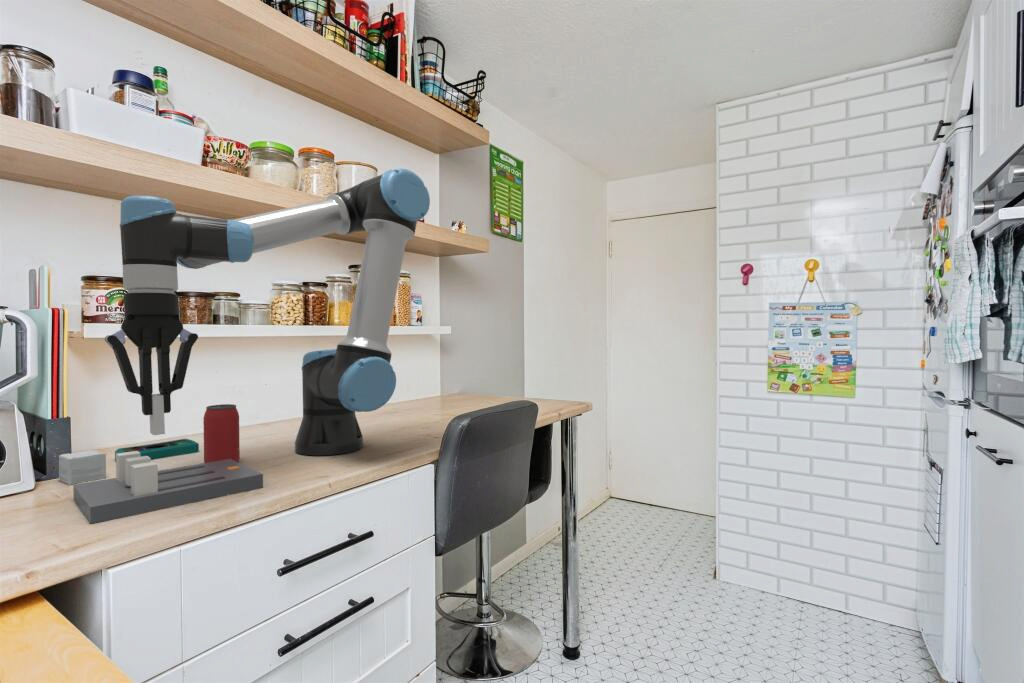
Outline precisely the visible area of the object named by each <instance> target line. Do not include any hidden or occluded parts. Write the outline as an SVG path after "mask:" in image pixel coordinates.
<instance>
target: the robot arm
mask: <svg viewBox="0 0 1024 683" xmlns="http://www.w3.org/2000/svg"><path fill="white" fill-rule="evenodd" d="M430 203H431V199H430V193H429V190H428V188H427V186H426V185H425V184H424V181H423V180H422V179H421V177H419V175H417V174H416V173H415V172H413V171H412V170H409V169H407V168H394V169H389V170H386V171H384V172H383V174H380V175H377V176H375V177H372V178H369V179H367V180H364V181H361V182H360V183H358V184H356V185H354V186H351V187H349V188H347V189H344V190H343V191H339V192H338V191H337V192H335V193H330V194H328V195H327V197H326V199H324V200H319V201H313V202H310V203H305V204H299V205H296V206H291V207H286V208H285V207H284V208H281V209H278V210H277V209H276V210H272V211H268V212H262V213H258V214H254V215H253V214H252V215H249V216H248V215H247V216H244V217H238V218H234V219H230V218H228V219H226V218H225V219H224V218H213V217H207V216H206V217H204V216H195V215H186V214H182V213H177V209H176V206H175V204H174V202H173V201H171V200H169V199H167V198H161V197H157V196H151V195H150V196H149V195H131V196H127V197H125V198H123V199H122V200H121V202H120V223H119V228H120V229H119V230H120V243H121V244H120V246H121V256H122V257H121V262H122V263H121V264H122V285H123V287H122V288H123V290H125V291H127V293H125V294H124V295H123V311H124V312H123V313H124V315H123V316H124V320H123V322H122V324H121V326H120V329H119V330H117V331H115V332H114V333H112V334H109V335H108V334H107V335H106V336H105V337H104V341H105V342H106V343H107V345H108V346H109V347H110V348H111V349H112V350H113V353H114V355H115V359H116V361H117V365H118V367H119V370H120V373H121V376H122V379H123V381H124V384H125V388H126V390H127V391H128V392H129V393H132V394H136V395H139V396H140V398H141V412H142V414H143V416H149V432H150V434H151V435H153V436H159V435H160V436H161V435H165V434H166V425H165V423H166V422H165V414H168V413H171V410H172V406H171V404H172V403H171V395H172V393H173V392H175V391H177V390H181V389H182V388H183V387H184V384H185V383H184V382H185V378H186V375H187V370H188V365H189V361H190V357H191V354H192V353H191V352H192V349H193V346H194V345H195V343H196V342H197V340H199V334H197V333H194V332H191V331H189V330H187V329H186V328H184V325H183V322H181V319H180V301H179V300H180V299H179V295H178V294H177V293H175V292H177V291H178V290H179V281H178V280H179V279H178V278H179V277H178V265H179V266H181V267H184V268H186V269H194V270H197V269H198V270H199V269H203V268H205V267H207V266H211V265H216V264H219V263H223V262H226V263H230V264H234V263H246V262H248V261H249V260H250V259H251V258H252V256H253V254H256V253H259V252H260V253H261V252H264V251H268V250H273V249H276V248H279V247H283V246H288V245H290V244H291V245H292V244H295V243H296V244H297V243H299V242H303V241H307V240H311V239H315V238H318V237H319V238H320V237H323V236H326V235H331V234H334V233H337V234H338V235H343V236H344V235H348V234H351V233H352V234H353V233H357V232H358V233H359V232H366V233H367V236H366V239H365V244H364V250H363V254H362V260H361V264H360V268H359V274H358V279H357V283H356V284H357V285H356V289H355V293H354V299H353V304H352V309H351V312H350V318H349V323H348V330H347V333H346V337H345V338H344V339H343V340H341V341H340V342H338V343H337V344H336V345H337V346H336V348H335V349H323V350H314V351H313V350H312V351H308V352H307V353H305V354H304V355H303V357H302V366H301V371H302V372H301V374H302V375H301V376H302V377H301V378H302V379H301V380H302V419H301V422H300V426H299V429H298V430H297V431H298V432H297V434H296V438H295V441H294V452H295V453H296V454H299V455H302V456H303V455H304V456H333V455H340V454H341V455H342V454H348V453H352V452H355V451H356V452H357V451H358V450H361V449H362V448H363V447H364V438H363V433H362V431H361V428H360V425H359V422H358V418H357V416H356V415H357V414H356V412H357V413H361V412H363V413H368V412H373V411H376V410H378V409H380V408H382V407H383V406H385V405H386V404H387V403H388V402H389V401H390V399H392V396H393V395H394V392H395V390H396V386H397V376H396V372H395V371H394V367H393V366H392V365H391V360H392V354H393V353H392V351H391V350H390V349H389V347H388V345H387V343H388V338H389V333H390V332H389V331H390V326H391V322H392V316H393V311H394V308H395V307H394V306H395V303H396V302H395V301H396V298H397V297H396V295H397V292H398V285H399V281H400V276H401V271H402V266H403V260H404V256H405V255H404V254H405V250H406V244H407V242H408V241H411V240H413V238H414V237H415V234H416V228H417V224H418V221H421V220H422V219H423V218H424V217H425V216H426V215H427V214H428V212H429V210H430V205H431V204H430ZM126 337H127V338H128V340H130V341H131V342H132V344H133V345H135V346H136V347H137V353H138V365H139V367H138V368H139V369H138V370H139V384H138V381H137V378H136V375H135V373H134V370H133V366H132V363H131V360H130V358H129V354H128V352H127V349H126V347H125V344H126ZM178 337H179V342H180V345H179V348H178V352H177V357H176V362H175V366H174V368H173V369H174V370H173V374H172V378H171V363H170V362H171V360H170V358H171V357H170V352H171V346H172V345H173V343H174V342H175V341H176V339H177V338H178ZM154 348H155V352H156V357H157V358H156V359H157V382H158V392H159V393H154V394H153V392H154V391H153V389H154V388H153V366H152V365H153V364H152V354H153V349H154ZM171 379H172V380H171Z"/></svg>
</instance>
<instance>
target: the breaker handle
mask: <svg viewBox="0 0 1024 683" xmlns="http://www.w3.org/2000/svg"><path fill="white" fill-rule="evenodd" d="M148 462H152V460H151V458H150V457H148V456H142V457H135V458H128V459H125V477H126V484H127V485H128V486H131V465H135V464H141V463H148Z"/></svg>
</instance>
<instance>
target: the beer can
mask: <svg viewBox="0 0 1024 683" xmlns="http://www.w3.org/2000/svg"><path fill="white" fill-rule="evenodd" d="M205 408H206V409H205V411H204V415H203V418H202V420H203V463H208V462H214V461H220V460H226V459H232V460H234V461H236V462H238V461H239V460H240V457H241V456H240V455H241V454H240V414H239V411H238V409H237V405H236V404H234V403H233V404H229V403H227V404H213V405H208V406H206V407H205Z"/></svg>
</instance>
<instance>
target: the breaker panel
mask: <svg viewBox="0 0 1024 683" xmlns="http://www.w3.org/2000/svg"><path fill="white" fill-rule="evenodd" d="M135 457H141V453H140V452H138V451H132V452H125V453H118V454H116V461H115V472H116V473H115V475H116V476H115V477H114V478H113V477H112V478H105V479H99V480H94V481H89V482H84V483H79V484H74V485H72V487H73V488H72V489H73V492H72V494H73V501H74V502H75V504H76V506H77V507H78V508H79V509H80V511H81V512H82V513H84V514H83V516H84V517H85V516H86V517H85V518H86V519H87V521H88V522H89V524H90V525H92V524H97V523H101V522H105V521H106V522H107V521H111V520H116V519H120V518H125V517H129V516H130V517H131V516H135V515H139V514H144V513H149V512H153V511H158V510H163V509H167V508H172V507H176V506H182V505H185V504H186V505H187V504H191V503H192V504H193V503H196V502H200V501H201V502H202V501H205V500H211V499H215V498H219V497H218V496H220V497H224V496H223V495H225V496H228V495H227V494H230V495H233V494H232V493H234V494H238V493H237V492H239V493H242V492H243V491H244V492H248V491H252V489H253V490H257V488H258V489H261V488H264V474H263V473H262V472H260V471H258V470H256V469H253V468H251V467H249V466H247V465H244V464H243V463H240V462H238V461H237V462H236V461H234V460H232V459H226V460H220V461H214V462H208V463H204V462H203V463H197V464H191V465H187V466H178V467H174V468H173V467H172V468H166V469H161V470H160V469H159V468H158V463H157V462H155V461H151V462H148V463H141V464H135V465H131V486H128V485H127V484H126V477H125V459H128V458H135ZM158 469H159V470H158ZM247 490H248V491H247ZM214 497H215V498H214ZM210 498H211V499H210Z"/></svg>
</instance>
